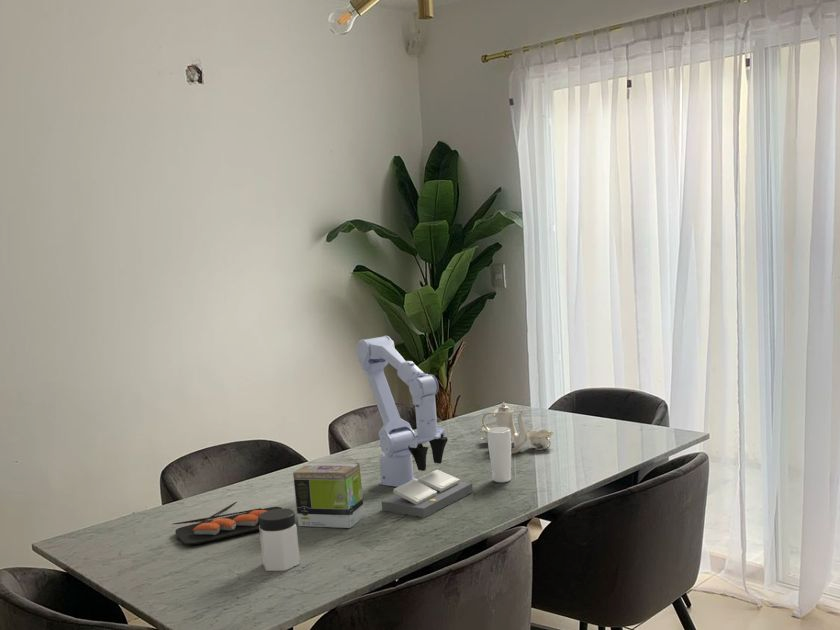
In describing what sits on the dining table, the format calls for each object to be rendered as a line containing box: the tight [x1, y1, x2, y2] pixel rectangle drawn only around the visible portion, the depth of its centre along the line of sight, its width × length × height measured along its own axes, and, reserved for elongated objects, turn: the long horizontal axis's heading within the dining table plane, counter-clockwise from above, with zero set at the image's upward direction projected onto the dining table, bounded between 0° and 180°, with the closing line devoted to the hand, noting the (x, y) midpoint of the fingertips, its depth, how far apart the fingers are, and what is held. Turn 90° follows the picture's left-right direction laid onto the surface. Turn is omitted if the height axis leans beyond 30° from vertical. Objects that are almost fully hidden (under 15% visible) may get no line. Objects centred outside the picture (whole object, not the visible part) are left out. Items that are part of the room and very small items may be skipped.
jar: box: [258, 508, 301, 572], centre depth 199 cm, size 9×8×12 cm
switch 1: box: [393, 480, 437, 505], centre depth 232 cm, size 8×9×1 cm
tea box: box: [292, 462, 365, 529], centre depth 226 cm, size 15×10×15 cm, turn 71°
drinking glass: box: [487, 427, 512, 483], centre depth 250 cm, size 7×7×15 cm
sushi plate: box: [173, 501, 284, 546], centre depth 233 cm, size 29×30×4 cm
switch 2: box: [417, 469, 461, 492], centre depth 241 cm, size 8×9×1 cm
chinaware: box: [478, 401, 554, 455], centre depth 284 cm, size 28×17×17 cm, turn 58°
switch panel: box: [381, 481, 474, 519], centre depth 237 cm, size 14×23×3 cm, turn 144°
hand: (429, 466), depth 242 cm, fingers open, 7 cm apart
